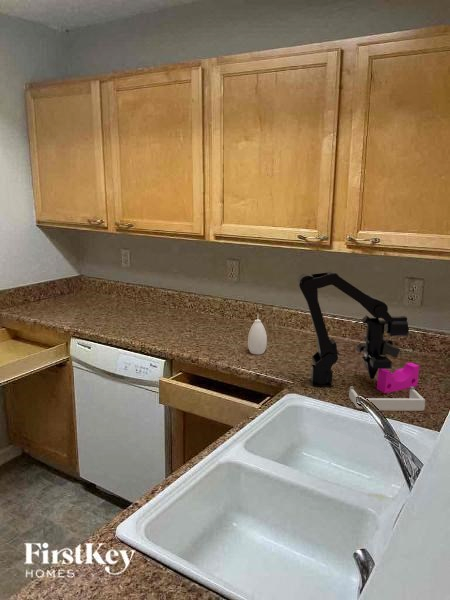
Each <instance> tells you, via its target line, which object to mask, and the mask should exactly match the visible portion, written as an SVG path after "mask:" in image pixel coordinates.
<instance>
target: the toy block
mask: <svg viewBox="0 0 450 600" xmlns="http://www.w3.org/2000/svg"><path fill="white" fill-rule="evenodd" d="M377 372H378V373H377V382H376V383H377V384H376V390H377V391H380V392H382V393H384V394H388V393H392V392H397V391H402V390H406V389H407V390H408V389H410V387H414V388H415V387H418V382H419V373H420V365H419V364H416V363H413V362H406V363H405V364H404V367H403V368H398V369H395V371H394V372H393V373H392V371H391V370H389V369H388V368H378V370H377Z"/></svg>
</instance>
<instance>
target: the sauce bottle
mask: <svg viewBox="0 0 450 600" xmlns="http://www.w3.org/2000/svg"><path fill="white" fill-rule="evenodd" d="M256 317H257V319H255V320H254V322H253V324H251V327H250V329H249V332H248V335H247V336H248V337H247V348H248V350H249V352H250V354H251V355H259V356H260V355H263V354H264V353H265V351H266V348H267V345H268V336H267V331H266V329H265V326H264V325H263V323H262V320H261V319H259V315H257V316H256Z"/></svg>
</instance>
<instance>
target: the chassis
mask: <svg viewBox="0 0 450 600" xmlns="http://www.w3.org/2000/svg"><path fill="white" fill-rule="evenodd" d="M348 394H349V395H348V398H349V400H350V401H351V403H352V402H353V403H354V404H355V406H356V407H357V408H362V407H360V406H359V405H358V404H357V403H356V397H357V396H359V395H358V394H357V392H356V391H355V389H354V386H353V385H352V386H351V385H350V386H349V392H348ZM366 399H368V400H369V401H370V402H372V403H373V404H374V405H375V406H376V407H377V408H378V409H379V410H378V411H394V412H395V411H396V412H397V411H398V412H399V411H406V412H408V411H409V412H410V411H413V412H414V411H415V412H417V411H420V412H421V411H422V412H423V411H425V405H426V399H425V398H423V396H422V395H421V394H420V393H418V392H417V390H415V387H410V388H409V398H405V397H403V398H401V397H400V398H399V397H398V398H391V397H389V398H386V397H382V398H381V397H380V398H379V397H377V398H373V397H371V398H370V397H368V398H367V397H366ZM353 403H352V404H353ZM354 404H353V405H354ZM355 406H354V407H355ZM356 407H355V408H356Z"/></svg>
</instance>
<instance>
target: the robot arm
mask: <svg viewBox="0 0 450 600" xmlns="http://www.w3.org/2000/svg"><path fill="white" fill-rule="evenodd" d="M296 282H297V286H298V288H299V290H300V292H301V293H302V295H303V297H304V299H305V301H306V304H307V307H308V312H309V314H310V319H311V321H312V324H313V327H314V328H313V329H314V332H315V334H316V340H317V341H316V342H317V344H316V346H317V352H315V354H313V355H312V356H311V360H312V363H313V364H311V373H310V378H309V381H310V384H311V385H312V387H332V386H333V385H332V383H333V371H332V367H333V366H334V364H335V363H336V362H337V361H338V359H339V355H340V352H339V350H338V349H337V348H338V347H337V342H336V341H335V339H334V338H333V337H331V338H330V337H329V334H328V331H327V327H326V324H325V319H324V316H323V314H322V310H321V307H320V302H319V296H318V295H319V293H318V292H319V291H318V289H322V288H325V287H328V286H333V287H335V288H336V289H338V290H339V291H341V292H342V293H344V294H346V295H347V296H348V297H350V298H351V299H353V300H355V302H357V303H358V304H360V305H361V306H362V307H363V308H364V309H365V310H366V311H367V312H368V313H369V314H370V315H371V316H372V317H369V316H368V315H367V314H366V315H365V316H364V317H363V318H361V319H360V321H361V323H363V324H364V325H366V335H365V336H364V339H363V340H364V341H365V343H364V342H363V343H359V344H357V346H356V347H357V348H356V351H357V353H358V354H362V351H363V354H364V355H363V356H361V358H362V361H363V363H364V366H365V368H366V370H367V373H368V374H367V375H368V376H369V379H370V380H374V379H375V377H376V374H377V372H378V370H379V369H380V368H385V369H392V368H393V362H392V361H391V359H390V358H388V357H387V355H389V356H392V357H393V358H398V356H399V355H400V352H401V348H399V347H398V346H397V345H396V344H394V342H393V341H392V340H391V339H389V338H387V339H384V338H385V334H387V336H388V337H407V336H409V332H410V328H409V323H408V317H406V316H405V315H401V316H392V315H391V314H390V313H389V312H388V311H389V308H388V305H387V303H385V302H384V301H383V300H381V299H380V298H377V297H376V296H374V295H371V294H369V293H366V292H364V291H362V290H360V289H359V288H358V287H356V286H354V285H353V284H352V283H350V282H349V281H347V280H346V279H344V278H343V277H341V276H340V275H338V273H336V272H335V271H333V270H330V271H326V272H320V273H319V272H318V273H307V272H304V273H302V274H300V275H299V276H298V278H297V281H296Z"/></svg>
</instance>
